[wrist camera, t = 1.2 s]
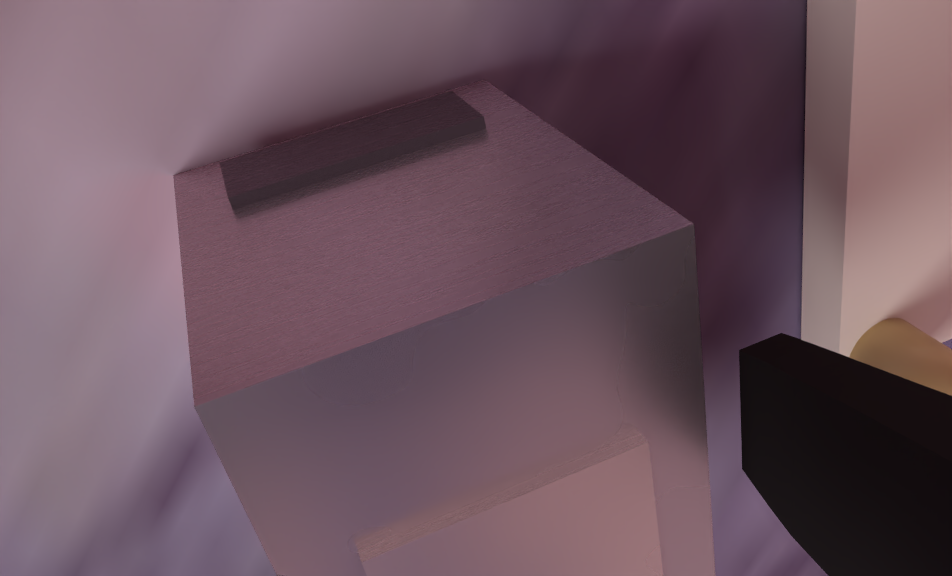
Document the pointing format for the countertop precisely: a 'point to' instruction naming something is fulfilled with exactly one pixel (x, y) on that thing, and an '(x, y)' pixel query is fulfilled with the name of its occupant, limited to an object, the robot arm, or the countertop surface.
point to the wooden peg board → (879, 185)
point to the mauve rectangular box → (449, 349)
